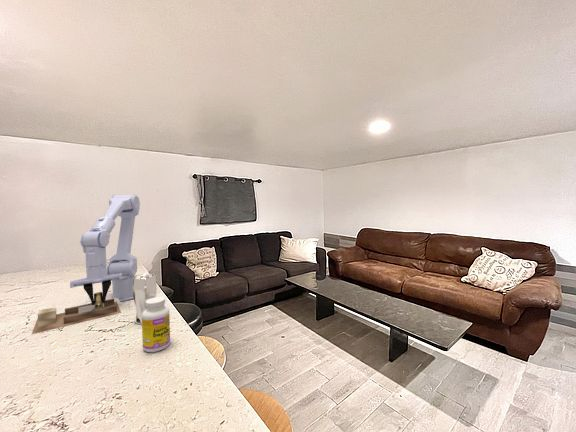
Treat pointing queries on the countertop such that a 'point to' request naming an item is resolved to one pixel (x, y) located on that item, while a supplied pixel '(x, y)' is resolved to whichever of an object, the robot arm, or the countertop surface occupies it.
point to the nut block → (47, 317)
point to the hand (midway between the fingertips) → (98, 303)
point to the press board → (79, 316)
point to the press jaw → (97, 304)
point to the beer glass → (143, 293)
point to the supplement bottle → (155, 325)
